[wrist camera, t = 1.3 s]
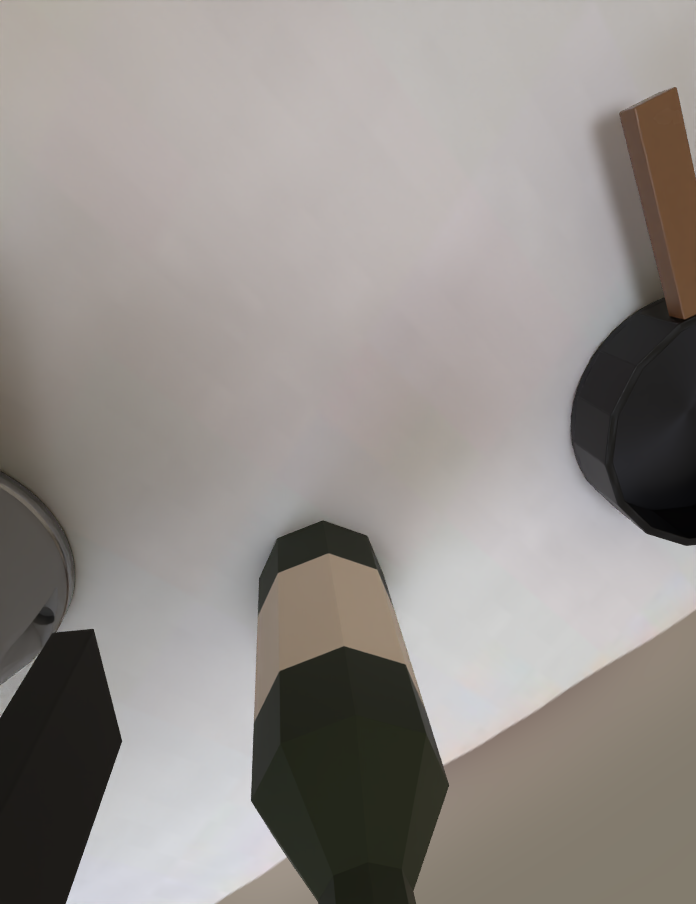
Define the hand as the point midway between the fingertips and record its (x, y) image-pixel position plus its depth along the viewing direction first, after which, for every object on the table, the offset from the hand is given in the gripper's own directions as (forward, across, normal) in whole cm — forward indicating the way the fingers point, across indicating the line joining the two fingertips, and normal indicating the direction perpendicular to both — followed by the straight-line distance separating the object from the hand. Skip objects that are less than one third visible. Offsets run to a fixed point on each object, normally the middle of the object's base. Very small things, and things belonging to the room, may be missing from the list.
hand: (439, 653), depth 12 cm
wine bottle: (+26, -3, -14) cm, 30 cm away
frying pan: (+27, +19, 0) cm, 33 cm away
